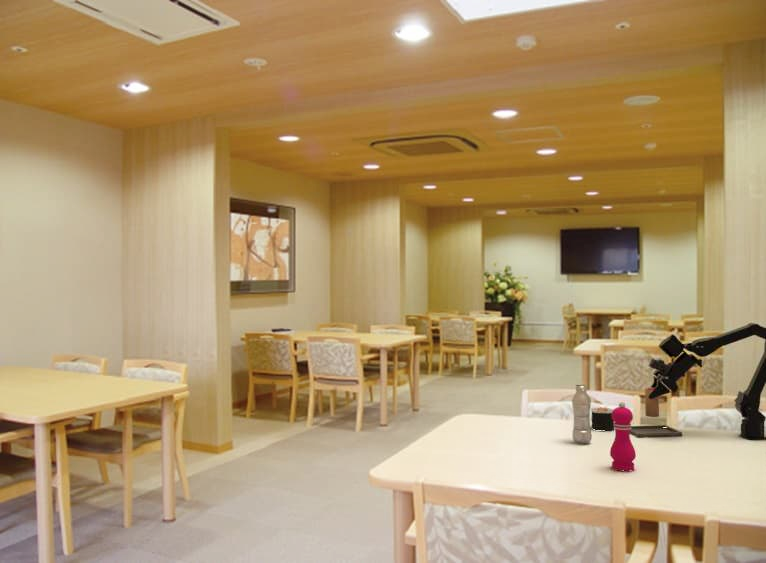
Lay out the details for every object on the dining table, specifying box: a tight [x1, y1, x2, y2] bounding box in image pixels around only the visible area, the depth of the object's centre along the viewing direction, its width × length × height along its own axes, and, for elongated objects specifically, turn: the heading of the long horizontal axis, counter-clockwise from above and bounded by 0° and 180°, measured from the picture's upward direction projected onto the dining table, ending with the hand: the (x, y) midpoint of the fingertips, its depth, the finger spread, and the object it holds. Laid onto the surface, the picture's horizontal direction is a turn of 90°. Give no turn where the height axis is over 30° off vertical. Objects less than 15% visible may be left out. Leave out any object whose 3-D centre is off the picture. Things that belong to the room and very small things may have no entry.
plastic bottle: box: [571, 384, 593, 444], centre depth 228 cm, size 6×7×20 cm
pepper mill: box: [609, 401, 637, 472], centre depth 197 cm, size 7×7×20 cm
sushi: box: [590, 406, 615, 432], centre depth 247 cm, size 8×8×8 cm
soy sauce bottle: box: [644, 386, 660, 418], centre depth 238 cm, size 5×5×10 cm
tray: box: [629, 424, 683, 439], centre depth 240 cm, size 16×12×1 cm
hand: (648, 396), depth 239 cm, fingers closed on soy sauce bottle, 5 cm apart
